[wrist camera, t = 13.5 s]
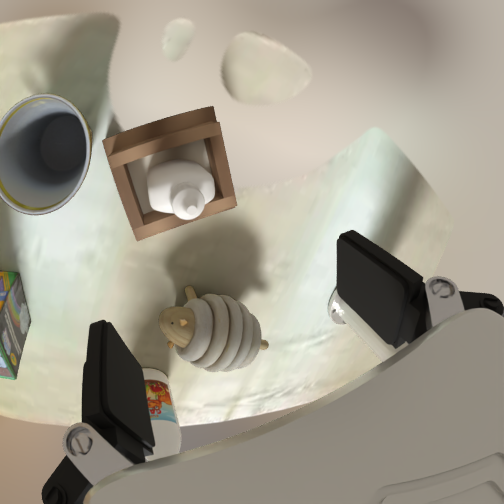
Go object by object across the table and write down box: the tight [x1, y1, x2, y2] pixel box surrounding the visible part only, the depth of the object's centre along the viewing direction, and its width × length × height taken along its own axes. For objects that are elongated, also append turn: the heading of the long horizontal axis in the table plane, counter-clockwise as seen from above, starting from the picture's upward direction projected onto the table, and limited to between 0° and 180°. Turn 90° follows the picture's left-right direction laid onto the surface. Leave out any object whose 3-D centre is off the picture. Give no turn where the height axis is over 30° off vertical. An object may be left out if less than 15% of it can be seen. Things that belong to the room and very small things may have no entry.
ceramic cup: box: [0, 94, 92, 215], centre depth 19 cm, size 13×10×10 cm
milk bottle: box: [142, 368, 181, 461], centre depth 35 cm, size 8×8×20 cm
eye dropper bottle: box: [147, 159, 215, 220], centre depth 23 cm, size 4×6×12 cm
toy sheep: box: [159, 286, 269, 372], centre depth 37 cm, size 11×17×11 cm, turn 61°
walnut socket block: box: [102, 106, 237, 241], centre depth 28 cm, size 12×12×6 cm
